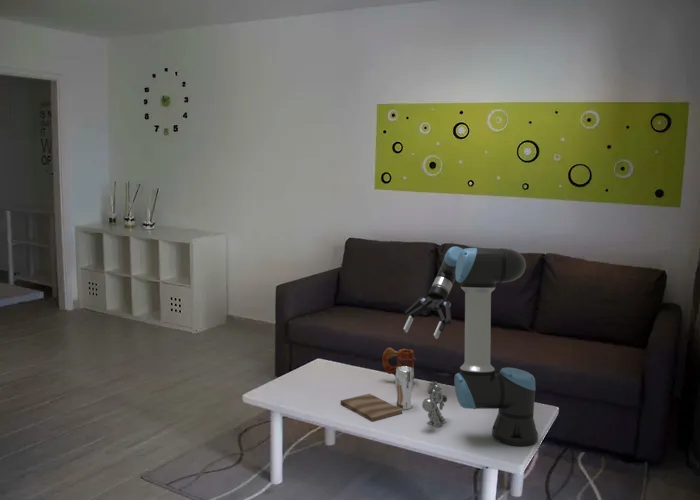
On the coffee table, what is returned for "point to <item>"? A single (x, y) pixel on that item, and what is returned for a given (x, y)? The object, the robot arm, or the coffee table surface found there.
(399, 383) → the beer glass
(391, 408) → the serving board
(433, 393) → the robot toy
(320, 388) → the coffee table surface
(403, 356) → the mug
